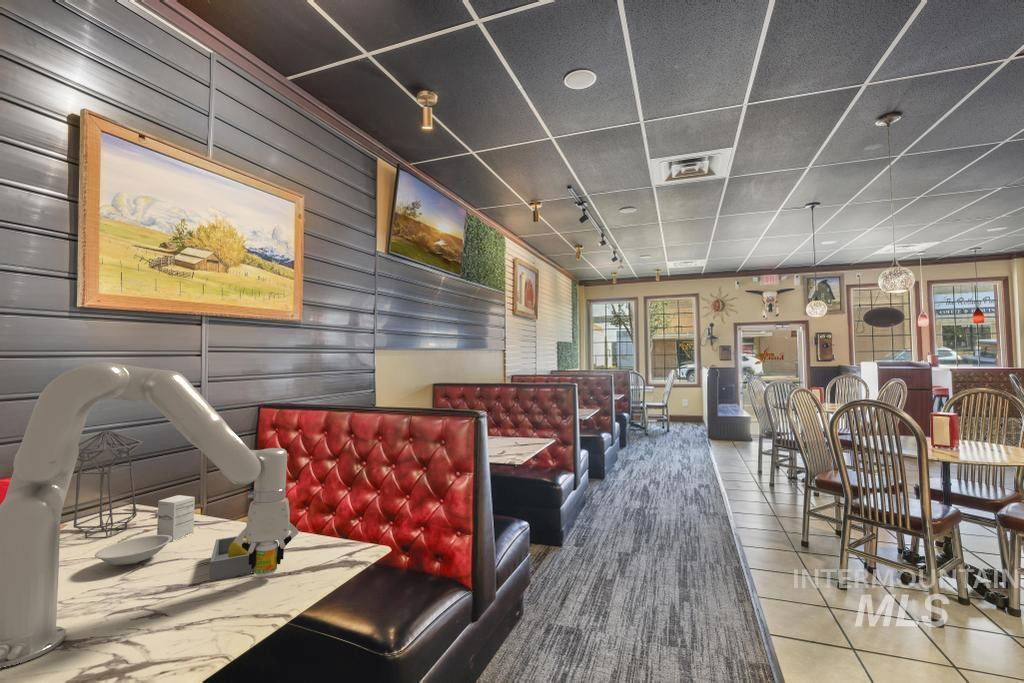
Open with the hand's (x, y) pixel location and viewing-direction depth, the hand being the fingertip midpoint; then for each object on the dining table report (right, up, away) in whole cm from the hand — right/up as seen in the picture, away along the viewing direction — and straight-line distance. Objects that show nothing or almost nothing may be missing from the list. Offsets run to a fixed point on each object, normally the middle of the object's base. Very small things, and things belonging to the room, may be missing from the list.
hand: (266, 563), depth 121 cm
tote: (-13, -5, +10) cm, 17 cm away
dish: (-44, -5, +10) cm, 45 cm away
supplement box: (-47, -6, +30) cm, 56 cm away
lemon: (-11, -4, +6) cm, 13 cm away
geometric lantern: (-73, -6, +33) cm, 80 cm away
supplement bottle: (0, -2, 0) cm, 2 cm away
